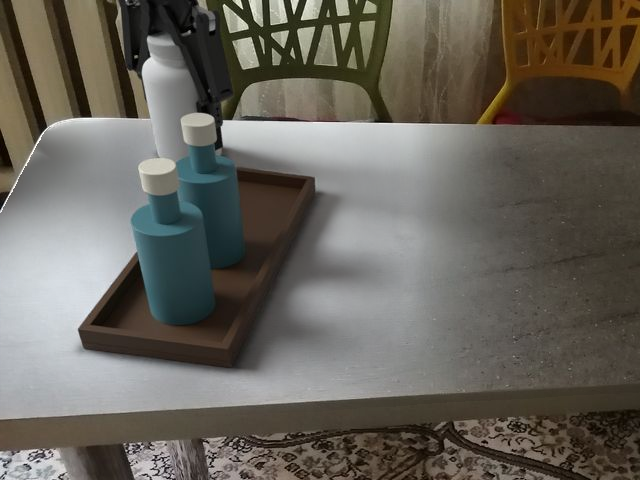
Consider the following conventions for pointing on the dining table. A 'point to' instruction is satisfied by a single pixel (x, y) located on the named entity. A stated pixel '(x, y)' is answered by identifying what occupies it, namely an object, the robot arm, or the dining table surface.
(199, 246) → the bottle
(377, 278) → the dining table surface
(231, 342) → the tray
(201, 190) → the bottle
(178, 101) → the pill bottle
